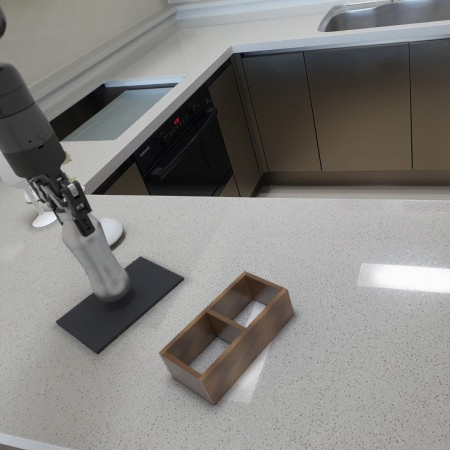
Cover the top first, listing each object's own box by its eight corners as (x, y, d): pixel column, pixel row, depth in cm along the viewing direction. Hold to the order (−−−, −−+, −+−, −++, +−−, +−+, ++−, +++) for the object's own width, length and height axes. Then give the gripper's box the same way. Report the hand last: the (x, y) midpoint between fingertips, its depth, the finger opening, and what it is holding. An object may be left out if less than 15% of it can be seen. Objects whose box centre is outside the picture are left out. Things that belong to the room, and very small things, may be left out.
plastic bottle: (92, 304, 85) (36, 218, 73) (114, 279, 89) (65, 194, 78) (120, 309, 82) (67, 220, 70) (141, 282, 87) (95, 195, 75)
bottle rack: (214, 405, 66) (201, 381, 62) (171, 376, 71) (158, 352, 68) (294, 314, 77) (287, 289, 74) (252, 294, 83) (244, 270, 79)
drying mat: (97, 354, 78) (96, 352, 77) (56, 323, 85) (55, 321, 85) (184, 279, 89) (183, 276, 89) (141, 258, 97) (140, 255, 97)
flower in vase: (136, 230, 106) (87, 132, 91) (99, 263, 98) (39, 161, 83) (97, 222, 112) (45, 128, 97) (60, 252, 104) (-2, 155, 89)
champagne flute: (58, 221, 115) (5, 134, 101) (31, 230, 114) (-27, 144, 99) (59, 208, 120) (9, 124, 106) (33, 217, 119) (-22, 133, 105)
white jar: (45, 191, 130) (26, 197, 128) (39, 182, 128) (21, 188, 127) (45, 199, 126) (26, 205, 125) (39, 190, 124) (20, 196, 123)
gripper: (-20, 142, 69) (38, 230, 79) (24, 159, 60) (82, 254, 70) (27, 120, 73) (76, 206, 83) (74, 133, 65) (122, 227, 75)
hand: (78, 228), depth 77 cm, fingers closed on plastic bottle, 6 cm apart
